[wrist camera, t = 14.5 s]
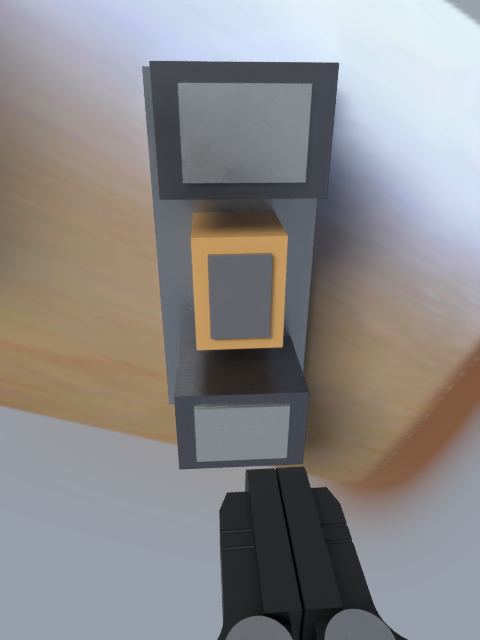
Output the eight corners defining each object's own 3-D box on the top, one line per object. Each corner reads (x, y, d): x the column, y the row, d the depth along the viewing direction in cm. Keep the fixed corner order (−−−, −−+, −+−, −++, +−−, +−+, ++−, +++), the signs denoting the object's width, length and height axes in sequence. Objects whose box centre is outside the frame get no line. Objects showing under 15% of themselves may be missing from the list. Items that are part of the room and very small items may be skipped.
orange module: (193, 212, 25) (190, 240, 21) (274, 211, 26) (288, 237, 21) (198, 310, 28) (196, 353, 24) (271, 308, 28) (283, 350, 24)
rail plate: (171, 386, 33) (161, 472, 26) (146, 67, 24) (120, 60, 16) (296, 382, 33) (320, 465, 26) (319, 68, 24) (367, 62, 17)
